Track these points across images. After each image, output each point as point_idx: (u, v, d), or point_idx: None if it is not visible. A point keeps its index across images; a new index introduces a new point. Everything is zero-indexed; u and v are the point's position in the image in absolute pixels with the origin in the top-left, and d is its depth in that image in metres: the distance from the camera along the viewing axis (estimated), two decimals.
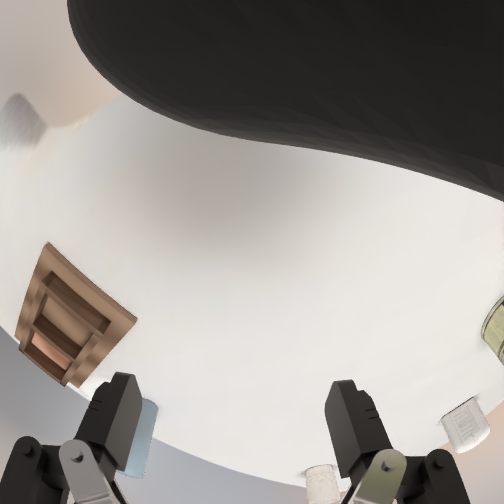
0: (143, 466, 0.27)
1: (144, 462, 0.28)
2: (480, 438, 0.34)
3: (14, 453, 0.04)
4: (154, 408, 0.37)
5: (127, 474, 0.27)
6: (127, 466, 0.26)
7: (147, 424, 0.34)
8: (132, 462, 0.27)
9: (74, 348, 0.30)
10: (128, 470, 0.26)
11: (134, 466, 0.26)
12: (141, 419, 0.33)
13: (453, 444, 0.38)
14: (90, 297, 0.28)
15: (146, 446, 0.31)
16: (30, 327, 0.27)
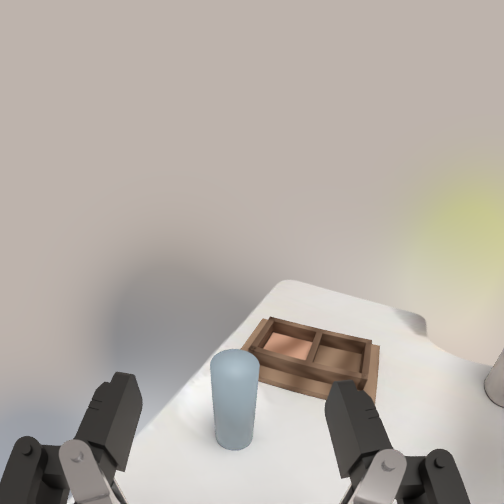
0: (246, 390, 0.23)
1: (244, 397, 0.23)
2: None
3: (14, 453, 0.04)
4: (246, 443, 0.27)
5: (222, 363, 0.24)
6: None
7: (251, 426, 0.26)
8: None
9: None
10: (251, 366, 0.24)
11: (257, 377, 0.23)
12: None
13: None
14: (370, 375, 0.37)
15: (247, 411, 0.24)
16: (316, 331, 0.44)
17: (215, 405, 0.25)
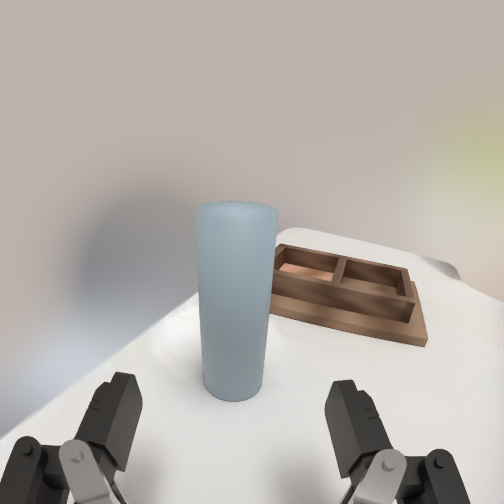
0: (257, 246, 0.14)
1: (252, 263, 0.14)
2: None
3: (14, 453, 0.04)
4: (253, 388, 0.18)
5: (217, 208, 0.15)
6: None
7: (261, 349, 0.17)
8: None
9: None
10: (265, 210, 0.15)
11: (275, 228, 0.15)
12: None
13: None
14: None
15: (256, 306, 0.15)
16: (339, 257, 0.35)
17: (201, 298, 0.16)
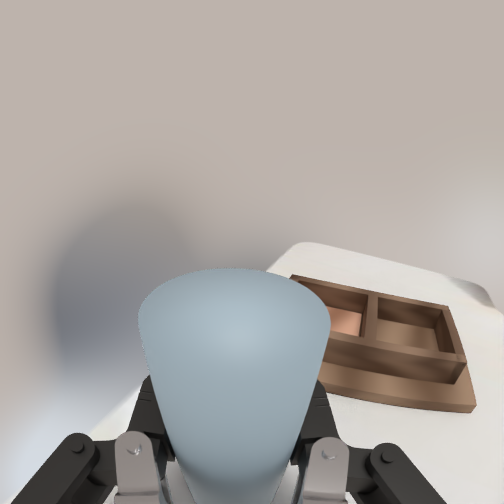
0: (283, 413, 0.05)
1: (270, 436, 0.05)
2: None
3: (62, 446, 0.06)
4: None
5: (187, 304, 0.06)
6: None
7: (276, 488, 0.08)
8: None
9: None
10: (300, 312, 0.06)
11: (322, 357, 0.06)
12: None
13: None
14: None
15: (273, 469, 0.07)
16: (368, 294, 0.26)
17: None
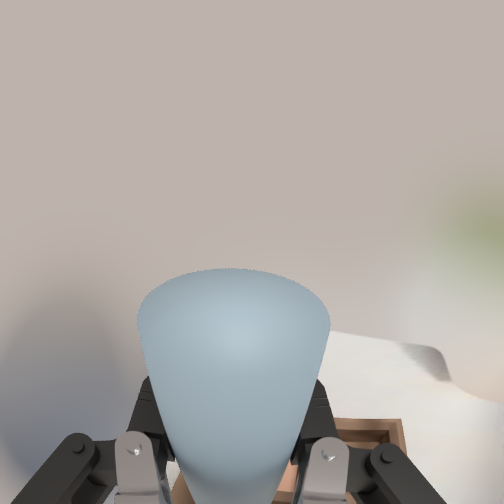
0: (282, 414, 0.05)
1: (269, 437, 0.05)
2: None
3: (62, 446, 0.06)
4: None
5: (186, 305, 0.06)
6: None
7: (276, 489, 0.08)
8: None
9: None
10: (299, 313, 0.06)
11: (322, 358, 0.06)
12: None
13: None
14: None
15: (273, 470, 0.07)
16: None
17: (172, 449, 0.07)
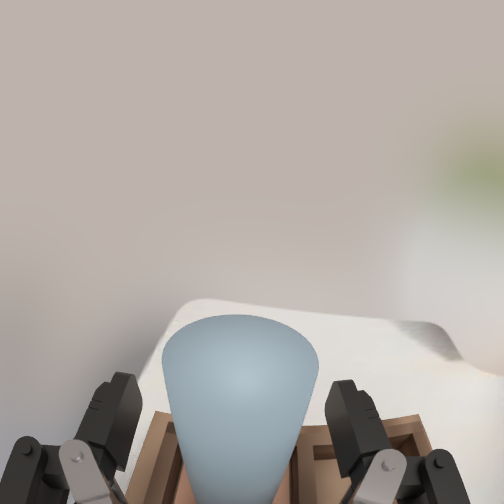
0: (279, 437, 0.06)
1: (269, 454, 0.06)
2: None
3: (14, 453, 0.04)
4: None
5: (201, 351, 0.08)
6: None
7: (273, 497, 0.09)
8: None
9: None
10: (294, 358, 0.08)
11: None
12: None
13: None
14: None
15: (271, 481, 0.08)
16: (296, 444, 0.14)
17: (185, 463, 0.08)
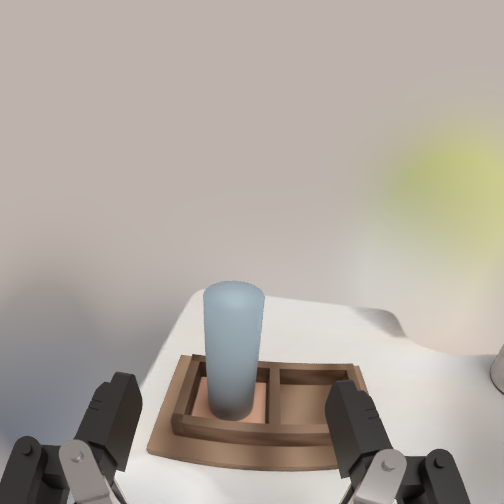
0: (248, 327, 0.19)
1: (245, 337, 0.19)
2: None
3: (14, 453, 0.04)
4: (246, 412, 0.23)
5: (218, 294, 0.20)
6: None
7: (252, 386, 0.22)
8: (262, 314, 0.20)
9: None
10: (255, 296, 0.20)
11: (262, 311, 0.20)
12: None
13: None
14: None
15: (248, 362, 0.21)
16: (269, 367, 0.28)
17: (207, 355, 0.21)
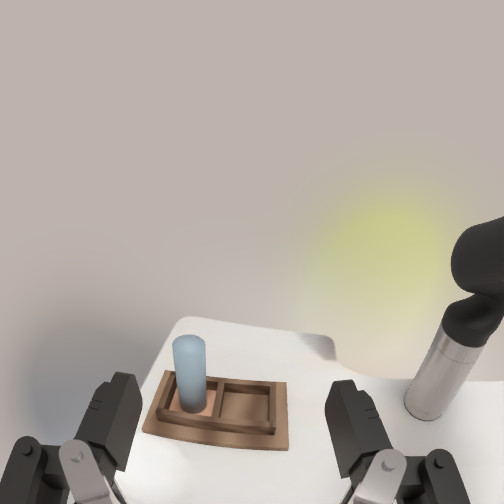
0: (195, 362, 0.34)
1: (194, 367, 0.34)
2: None
3: (14, 453, 0.04)
4: (201, 408, 0.38)
5: (180, 343, 0.35)
6: None
7: (203, 393, 0.37)
8: (204, 355, 0.35)
9: None
10: (199, 346, 0.35)
11: (203, 354, 0.35)
12: None
13: None
14: (280, 417, 0.39)
15: (198, 379, 0.35)
16: (218, 381, 0.43)
17: (176, 374, 0.36)
